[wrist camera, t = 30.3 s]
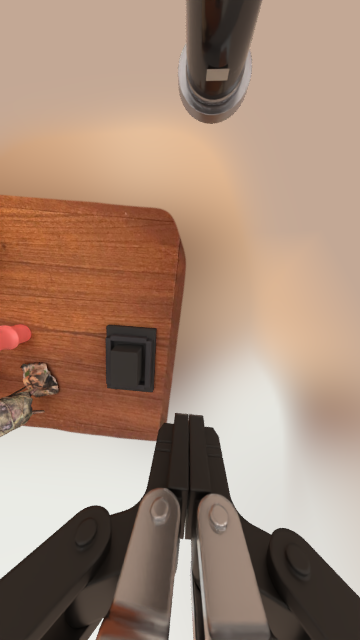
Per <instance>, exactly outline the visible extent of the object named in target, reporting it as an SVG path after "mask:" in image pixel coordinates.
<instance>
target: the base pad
mask: <svg viewBox="0 0 360 640" xmlns="http://www.w3.org/2000/svg"><path fill="white" fill-rule="evenodd" d="M106 329H107V337H106V384H107V388H111V389H122V390H133V391H143V392H153V390H154V374H155V353H156V331H157V329H156V328H145V327H133V326H120V325H107V326H106ZM118 344H130V345H142V346H143V361H142V378H141V380H140V382H139V384H138V386H137V387H126V386H115V385H111V350H112V349H113V348H114V347H116V346H117V345H118Z"/></svg>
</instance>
